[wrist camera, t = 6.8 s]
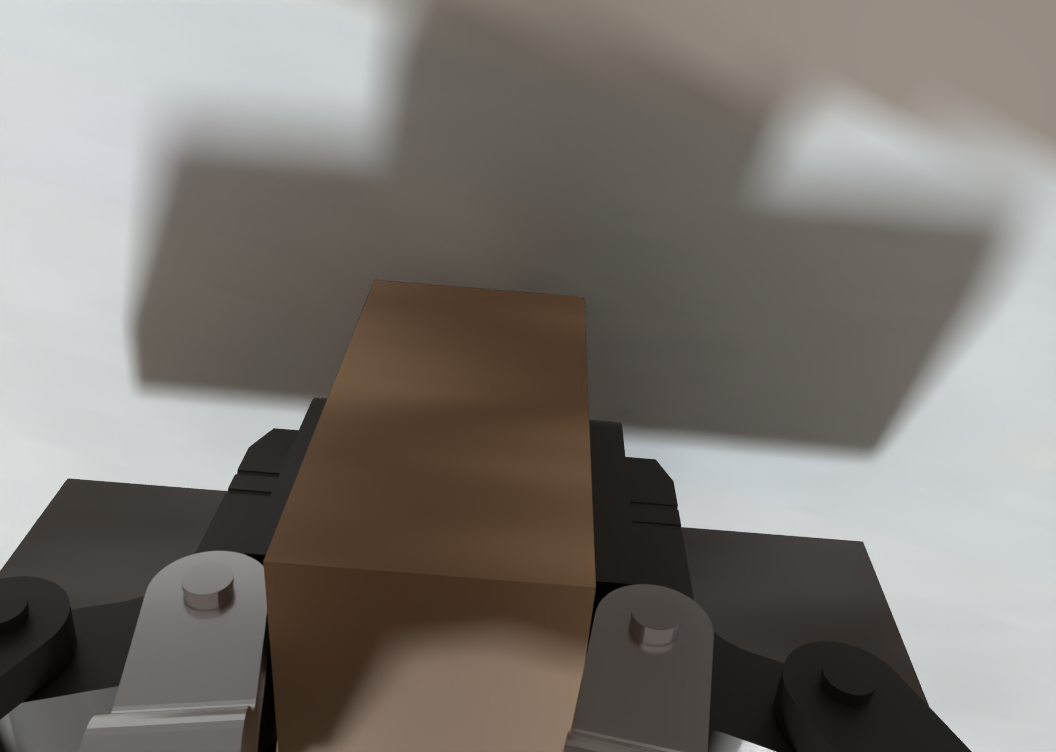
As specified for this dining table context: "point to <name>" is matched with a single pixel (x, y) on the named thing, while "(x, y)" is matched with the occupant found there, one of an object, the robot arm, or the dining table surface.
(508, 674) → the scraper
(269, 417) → the dining table surface
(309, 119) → the dining table surface
